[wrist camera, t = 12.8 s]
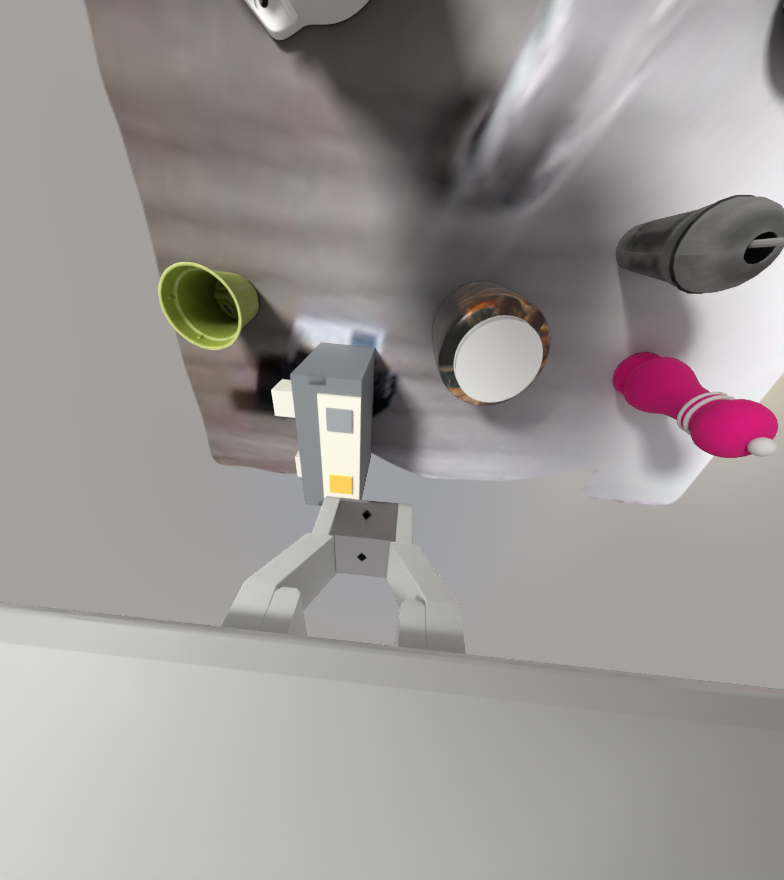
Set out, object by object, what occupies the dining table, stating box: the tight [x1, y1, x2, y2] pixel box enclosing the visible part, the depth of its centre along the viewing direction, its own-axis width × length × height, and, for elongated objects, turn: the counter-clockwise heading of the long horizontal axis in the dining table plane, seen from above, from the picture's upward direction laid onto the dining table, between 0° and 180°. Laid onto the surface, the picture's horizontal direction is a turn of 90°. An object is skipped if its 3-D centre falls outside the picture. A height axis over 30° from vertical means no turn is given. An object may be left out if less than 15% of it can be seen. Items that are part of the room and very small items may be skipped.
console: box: [290, 343, 375, 506], centre depth 44 cm, size 8×20×14 cm, turn 176°
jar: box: [432, 281, 550, 405], centre depth 36 cm, size 12×12×15 cm
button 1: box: [271, 379, 295, 418], centre depth 40 cm, size 5×4×4 cm
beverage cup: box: [616, 195, 784, 294], centre depth 28 cm, size 7×7×20 cm
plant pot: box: [158, 262, 259, 350], centre depth 39 cm, size 9×9×9 cm
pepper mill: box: [613, 352, 778, 458], centre depth 36 cm, size 7×7×20 cm
